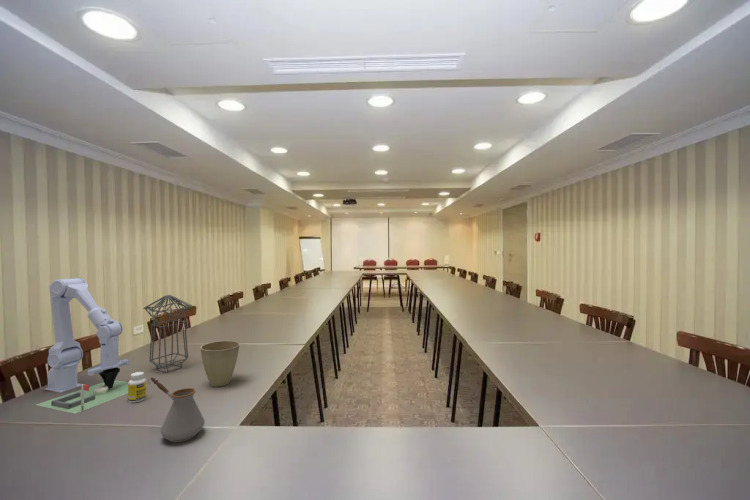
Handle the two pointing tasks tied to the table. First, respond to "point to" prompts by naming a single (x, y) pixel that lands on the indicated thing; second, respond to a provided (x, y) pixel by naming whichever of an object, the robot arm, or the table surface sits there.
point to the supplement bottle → (137, 387)
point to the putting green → (117, 391)
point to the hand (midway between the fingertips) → (109, 387)
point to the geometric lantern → (163, 299)
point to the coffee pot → (181, 415)
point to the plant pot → (219, 361)
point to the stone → (101, 390)
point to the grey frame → (62, 401)
